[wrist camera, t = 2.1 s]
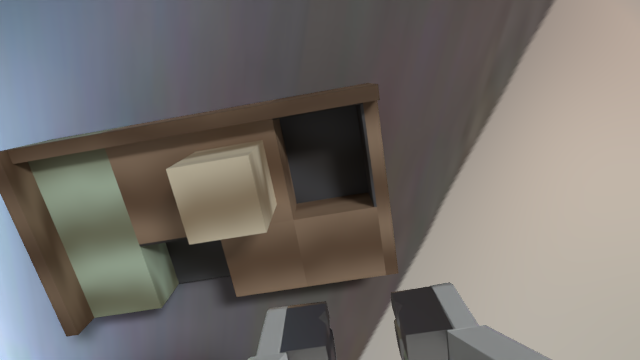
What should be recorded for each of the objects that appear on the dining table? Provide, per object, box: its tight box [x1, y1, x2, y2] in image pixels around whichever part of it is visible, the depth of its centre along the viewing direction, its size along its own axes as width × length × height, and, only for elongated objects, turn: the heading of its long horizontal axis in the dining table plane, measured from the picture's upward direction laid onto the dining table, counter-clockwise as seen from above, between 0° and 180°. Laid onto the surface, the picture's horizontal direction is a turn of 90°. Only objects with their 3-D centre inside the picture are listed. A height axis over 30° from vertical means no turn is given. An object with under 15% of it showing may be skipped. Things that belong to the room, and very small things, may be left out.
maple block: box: [166, 140, 277, 245], centre depth 23 cm, size 5×5×5 cm
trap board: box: [0, 83, 398, 336], centre depth 27 cm, size 15×27×6 cm, turn 100°
